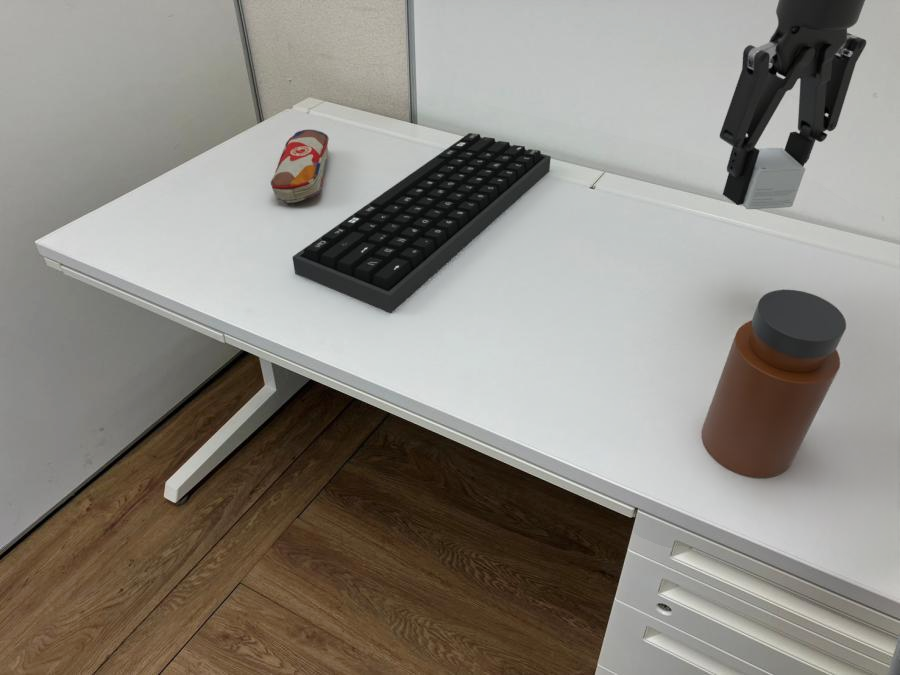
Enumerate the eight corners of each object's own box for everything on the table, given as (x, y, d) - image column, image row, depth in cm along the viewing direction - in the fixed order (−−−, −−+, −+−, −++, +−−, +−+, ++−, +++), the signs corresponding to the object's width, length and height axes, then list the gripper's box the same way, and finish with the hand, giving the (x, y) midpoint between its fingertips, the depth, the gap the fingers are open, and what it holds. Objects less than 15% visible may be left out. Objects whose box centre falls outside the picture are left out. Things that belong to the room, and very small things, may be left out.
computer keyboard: (467, 148, 123) (468, 127, 121) (549, 171, 117) (551, 149, 114) (295, 273, 94) (291, 249, 92) (390, 312, 88) (389, 288, 85)
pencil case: (247, 202, 108) (241, 173, 105) (296, 148, 123) (292, 120, 120) (314, 211, 107) (310, 181, 103) (356, 154, 121) (354, 127, 118)
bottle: (812, 463, 70) (881, 334, 59) (738, 489, 68) (796, 358, 57) (753, 402, 76) (806, 275, 65) (683, 423, 74) (725, 295, 63)
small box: (793, 207, 80) (807, 168, 77) (745, 210, 79) (757, 171, 76) (770, 184, 84) (782, 145, 81) (724, 187, 84) (735, 148, 81)
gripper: (876, -39, 72) (802, 167, 87) (719, -24, 67) (668, 192, 82) (938, -22, 67) (847, 195, 82) (772, -4, 62) (708, 224, 76)
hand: (758, 193), depth 82 cm, fingers closed on small box, 6 cm apart
